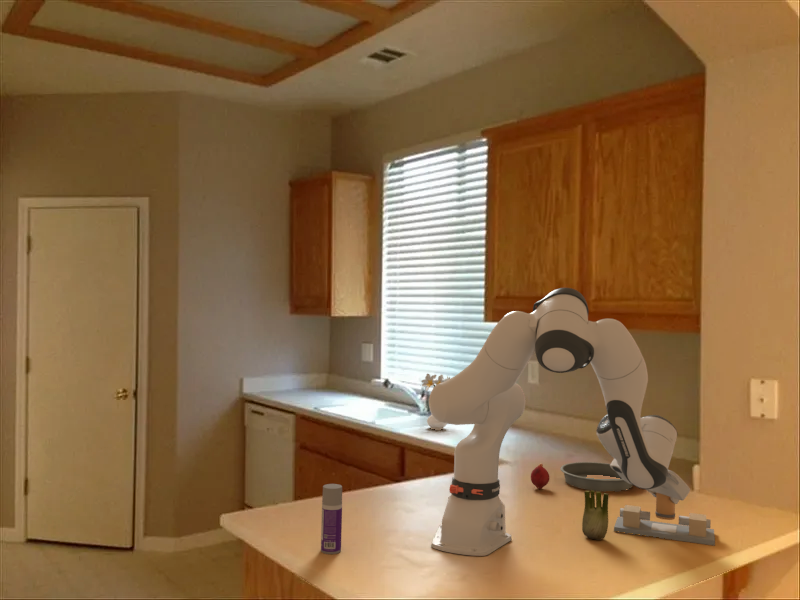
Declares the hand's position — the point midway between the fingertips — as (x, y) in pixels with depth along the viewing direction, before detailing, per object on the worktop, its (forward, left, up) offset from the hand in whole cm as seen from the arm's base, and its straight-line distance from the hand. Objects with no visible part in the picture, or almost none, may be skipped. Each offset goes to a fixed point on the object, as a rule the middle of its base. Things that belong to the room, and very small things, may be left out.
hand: (667, 498), depth 188 cm
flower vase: (+114, +102, -9) cm, 153 cm away
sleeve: (0, 0, -5) cm, 5 cm away
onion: (+29, +39, -9) cm, 49 cm away
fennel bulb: (-13, +17, -9) cm, 23 cm away
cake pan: (+46, +23, -9) cm, 52 cm away
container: (-50, +72, -9) cm, 88 cm away
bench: (0, +1, -9) cm, 9 cm away
